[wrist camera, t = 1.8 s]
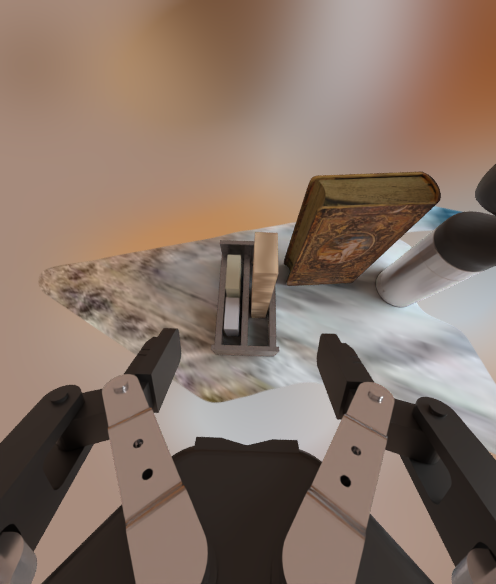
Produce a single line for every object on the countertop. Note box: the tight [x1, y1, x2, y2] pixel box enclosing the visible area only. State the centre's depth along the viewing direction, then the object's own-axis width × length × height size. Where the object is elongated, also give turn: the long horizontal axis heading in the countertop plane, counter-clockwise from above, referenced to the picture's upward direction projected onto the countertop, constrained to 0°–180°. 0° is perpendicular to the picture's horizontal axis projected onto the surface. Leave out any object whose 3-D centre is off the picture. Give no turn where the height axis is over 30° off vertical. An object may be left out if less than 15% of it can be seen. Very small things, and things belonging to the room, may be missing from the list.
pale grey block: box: [224, 297, 240, 336], centre depth 46 cm, size 2×6×7 cm, turn 178°
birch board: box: [251, 232, 278, 318], centre depth 40 cm, size 3×6×22 cm, turn 178°
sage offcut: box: [225, 255, 242, 301], centre depth 47 cm, size 2×7×9 cm, turn 178°
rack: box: [211, 240, 279, 356], centre depth 47 cm, size 12×22×8 cm, turn 178°
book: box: [284, 172, 441, 286], centre depth 42 cm, size 16×6×25 cm, turn 93°
